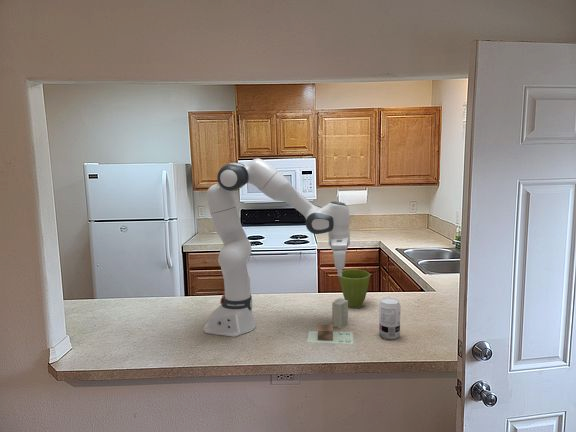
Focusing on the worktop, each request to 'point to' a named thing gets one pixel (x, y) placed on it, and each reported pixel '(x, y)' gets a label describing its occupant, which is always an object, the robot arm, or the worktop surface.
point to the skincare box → (340, 313)
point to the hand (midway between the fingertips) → (339, 272)
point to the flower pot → (354, 286)
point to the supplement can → (389, 318)
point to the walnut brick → (325, 332)
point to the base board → (337, 337)
